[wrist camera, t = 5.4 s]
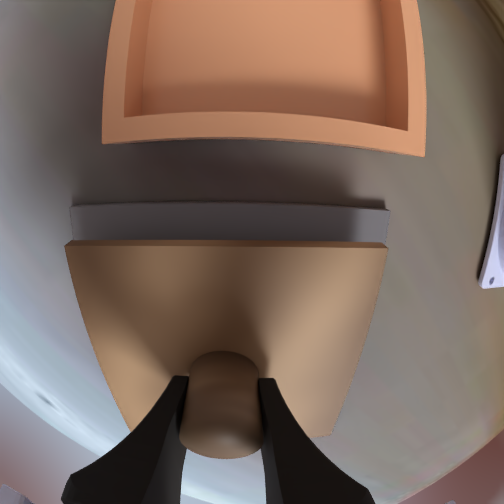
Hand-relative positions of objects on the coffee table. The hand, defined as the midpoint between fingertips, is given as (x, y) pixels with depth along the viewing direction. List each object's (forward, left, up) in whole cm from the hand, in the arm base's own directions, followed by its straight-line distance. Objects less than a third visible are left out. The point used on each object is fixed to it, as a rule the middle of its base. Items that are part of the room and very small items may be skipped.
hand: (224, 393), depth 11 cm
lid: (0, 0, -1) cm, 1 cm away
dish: (-1, -15, -3) cm, 16 cm away
